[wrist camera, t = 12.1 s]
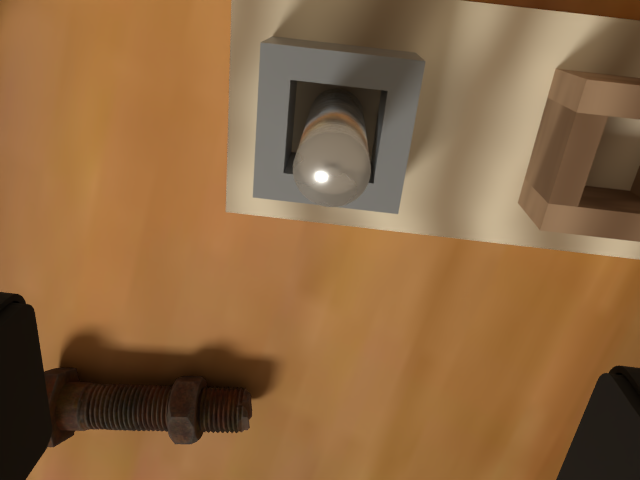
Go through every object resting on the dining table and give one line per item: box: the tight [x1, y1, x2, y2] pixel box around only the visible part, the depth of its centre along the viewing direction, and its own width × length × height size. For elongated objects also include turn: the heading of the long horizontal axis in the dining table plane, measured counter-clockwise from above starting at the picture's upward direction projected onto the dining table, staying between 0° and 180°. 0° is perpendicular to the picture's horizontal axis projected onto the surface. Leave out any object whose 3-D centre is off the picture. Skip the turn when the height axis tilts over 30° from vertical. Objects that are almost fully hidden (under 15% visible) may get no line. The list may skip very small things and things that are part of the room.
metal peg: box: [293, 89, 371, 207], centre depth 25 cm, size 3×3×10 cm
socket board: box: [226, 0, 640, 259], centre depth 28 cm, size 28×13×6 cm, turn 84°
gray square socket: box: [253, 36, 426, 214], centre depth 27 cm, size 8×8×4 cm
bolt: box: [44, 368, 252, 447], centre depth 38 cm, size 6×5×15 cm
